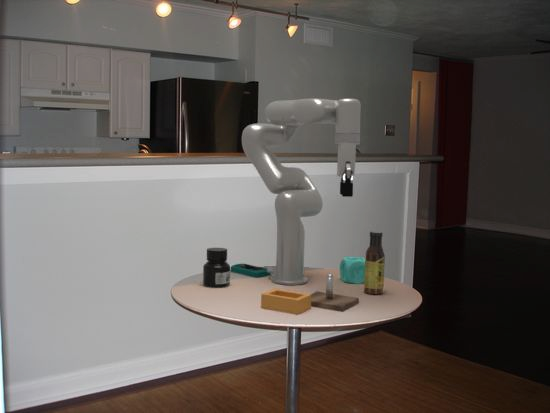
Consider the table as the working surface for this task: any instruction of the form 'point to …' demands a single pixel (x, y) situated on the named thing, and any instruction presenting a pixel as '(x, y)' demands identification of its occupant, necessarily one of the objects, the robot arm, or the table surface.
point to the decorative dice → (352, 270)
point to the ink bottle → (216, 268)
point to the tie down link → (286, 301)
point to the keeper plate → (332, 298)
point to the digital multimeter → (250, 270)
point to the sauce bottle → (374, 265)
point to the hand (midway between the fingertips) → (346, 195)
